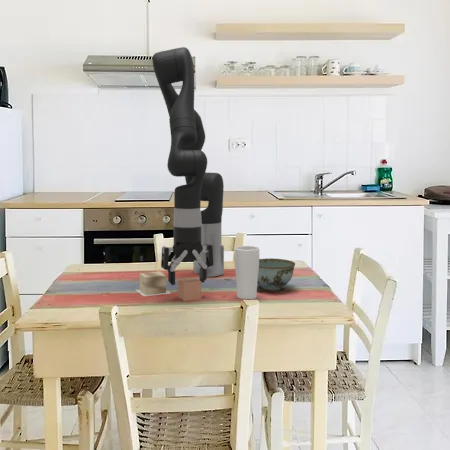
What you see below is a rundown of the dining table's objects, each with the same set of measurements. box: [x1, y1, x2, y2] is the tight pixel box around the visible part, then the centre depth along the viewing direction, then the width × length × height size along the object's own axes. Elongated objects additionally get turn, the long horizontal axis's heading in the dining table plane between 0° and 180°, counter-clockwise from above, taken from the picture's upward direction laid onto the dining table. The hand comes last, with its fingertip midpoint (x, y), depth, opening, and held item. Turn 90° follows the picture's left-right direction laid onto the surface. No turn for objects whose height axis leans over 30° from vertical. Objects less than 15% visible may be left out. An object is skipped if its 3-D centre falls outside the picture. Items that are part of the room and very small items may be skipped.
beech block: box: [139, 271, 167, 295], centre depth 190 cm, size 6×6×5 cm
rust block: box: [177, 277, 202, 302], centre depth 183 cm, size 5×5×5 cm
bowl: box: [257, 258, 296, 292], centre depth 199 cm, size 14×13×8 cm
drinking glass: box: [234, 245, 260, 300], centre depth 184 cm, size 7×7×15 cm
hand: (187, 283), depth 183 cm, fingers open, 8 cm apart
